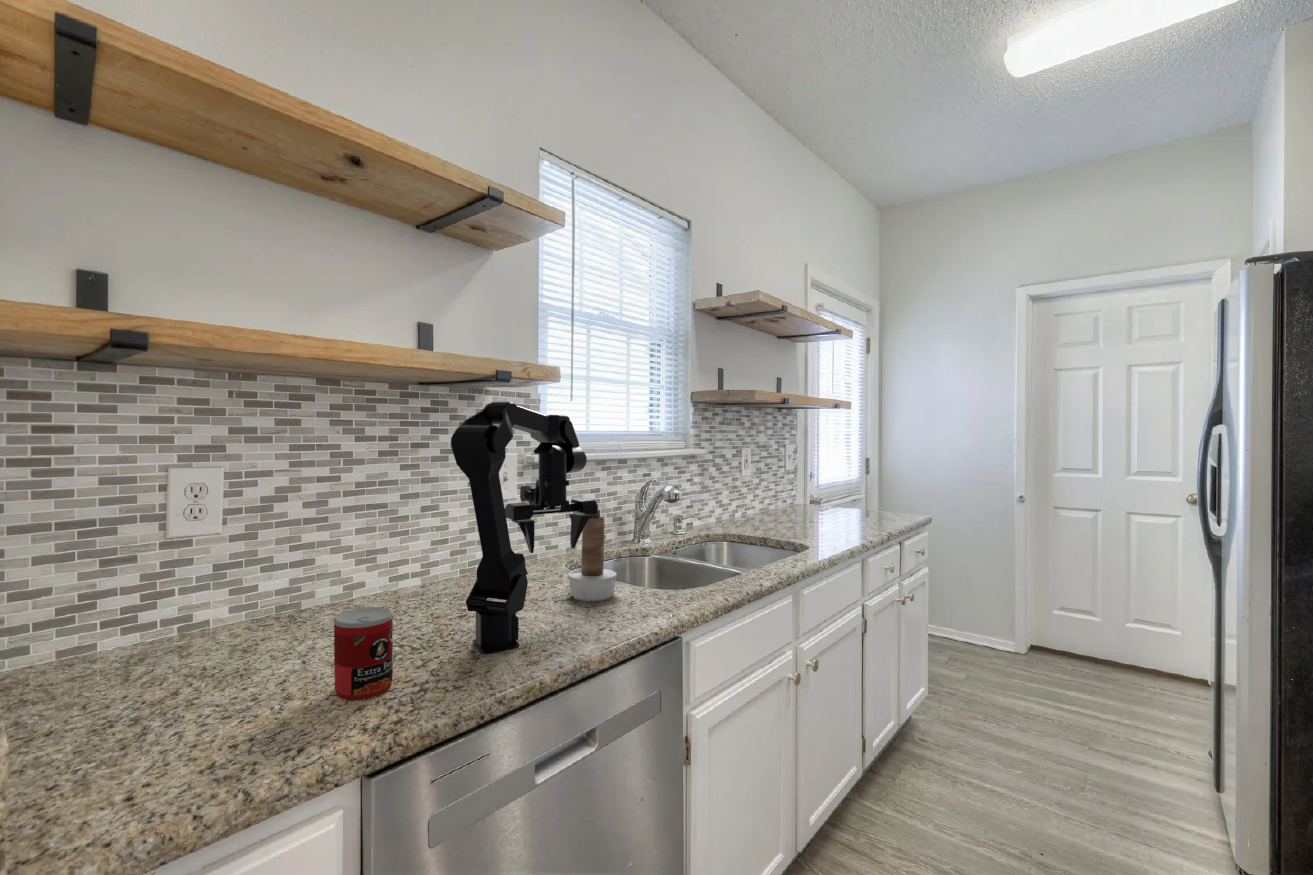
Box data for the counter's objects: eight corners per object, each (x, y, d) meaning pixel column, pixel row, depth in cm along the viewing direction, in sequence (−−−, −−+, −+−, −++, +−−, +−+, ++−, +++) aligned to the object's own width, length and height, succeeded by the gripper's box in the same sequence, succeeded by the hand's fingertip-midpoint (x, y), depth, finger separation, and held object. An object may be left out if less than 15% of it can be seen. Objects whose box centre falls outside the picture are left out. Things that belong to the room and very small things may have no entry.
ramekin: (589, 587, 145) (589, 565, 145) (626, 594, 139) (626, 572, 139) (557, 598, 136) (557, 574, 136) (595, 606, 130) (595, 582, 130)
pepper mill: (593, 577, 134) (594, 512, 133) (576, 573, 137) (578, 509, 136) (607, 573, 138) (609, 509, 138) (591, 569, 141) (592, 507, 140)
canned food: (354, 706, 82) (354, 627, 82) (322, 692, 87) (322, 617, 86) (404, 686, 89) (404, 612, 89) (372, 674, 93) (372, 604, 93)
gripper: (576, 471, 136) (576, 539, 136) (495, 474, 126) (495, 548, 126) (599, 474, 127) (599, 548, 127) (514, 478, 116) (514, 558, 117)
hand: (552, 550), depth 124 cm, fingers open, 9 cm apart
